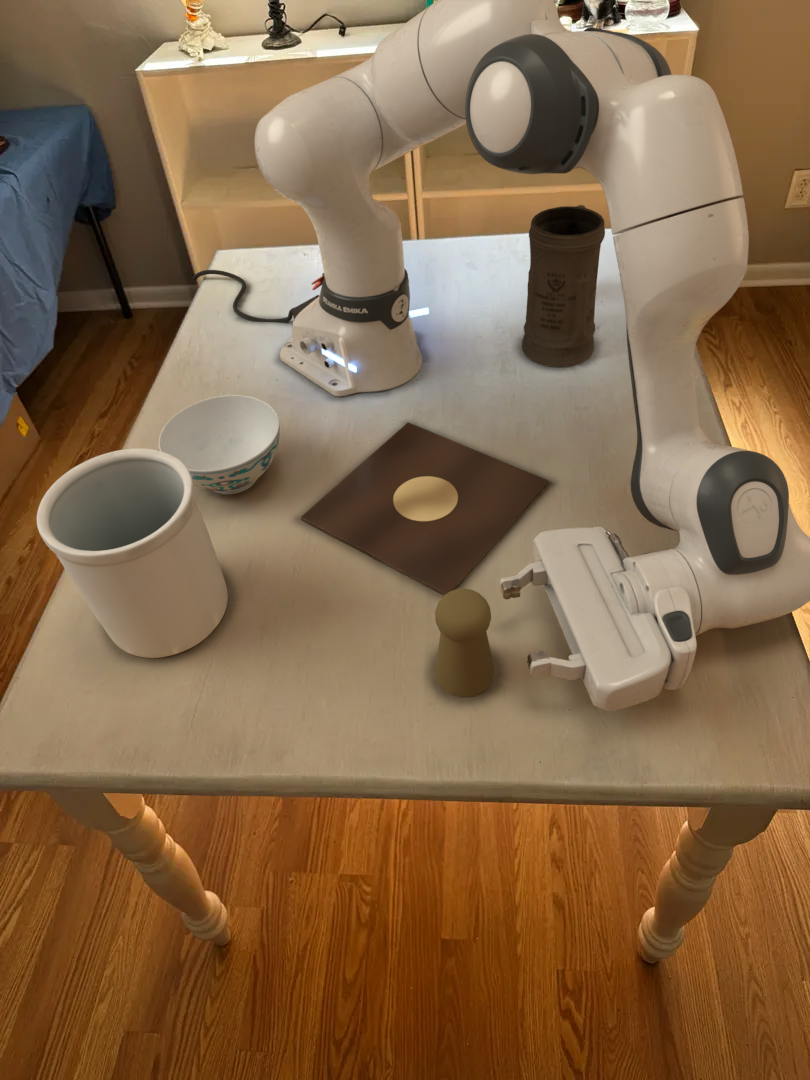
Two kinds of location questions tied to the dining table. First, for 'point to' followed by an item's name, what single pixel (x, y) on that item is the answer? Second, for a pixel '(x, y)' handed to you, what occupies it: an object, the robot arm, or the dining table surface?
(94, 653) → the dining table surface
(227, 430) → the chinaware
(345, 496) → the mat
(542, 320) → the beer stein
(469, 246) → the dining table surface
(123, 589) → the utensil holder
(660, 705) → the dining table surface
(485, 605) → the olive brown pawn
